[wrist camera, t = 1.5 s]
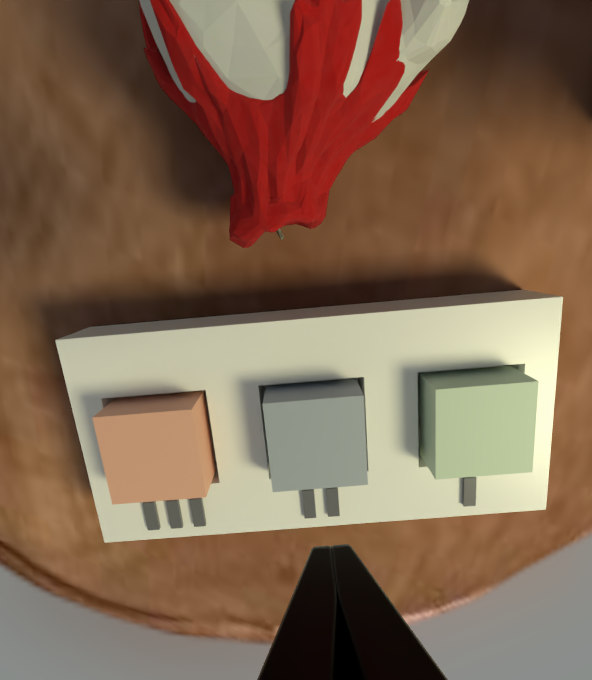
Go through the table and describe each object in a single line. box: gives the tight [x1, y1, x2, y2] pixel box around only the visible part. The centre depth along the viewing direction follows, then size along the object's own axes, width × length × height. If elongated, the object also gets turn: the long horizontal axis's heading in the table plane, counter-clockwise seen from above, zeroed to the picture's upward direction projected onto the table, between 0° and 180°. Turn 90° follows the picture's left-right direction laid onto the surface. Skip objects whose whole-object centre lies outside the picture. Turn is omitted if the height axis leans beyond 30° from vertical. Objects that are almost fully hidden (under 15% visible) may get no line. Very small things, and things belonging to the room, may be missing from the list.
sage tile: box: [419, 366, 539, 480], centre depth 18 cm, size 4×4×2 cm
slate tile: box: [262, 378, 368, 492], centre depth 18 cm, size 4×4×2 cm
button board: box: [55, 290, 563, 543], centre depth 20 cm, size 23×11×3 cm, turn 95°
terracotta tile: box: [92, 391, 216, 505], centre depth 18 cm, size 4×4×2 cm
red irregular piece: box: [139, 0, 469, 248], centre depth 13 cm, size 9×11×15 cm
